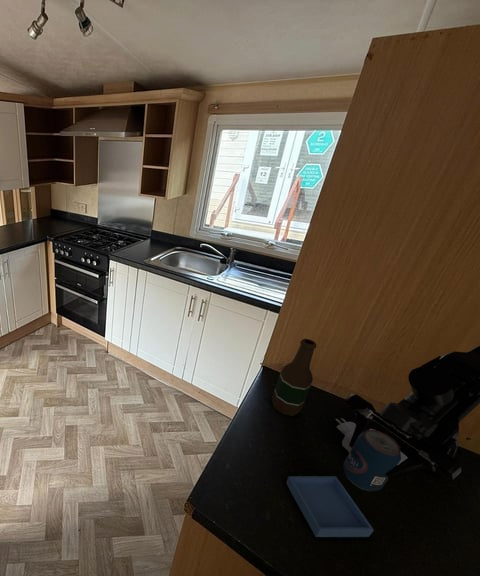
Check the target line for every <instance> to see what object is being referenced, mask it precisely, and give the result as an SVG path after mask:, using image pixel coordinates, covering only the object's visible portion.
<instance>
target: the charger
mask: <svg viewBox="0 0 480 576" xmlns="http://www.w3.org/2000/svg"><path fill="white" fill-rule="evenodd" d="M335 421H336V422H337V423H338V425H337V426H336V428H337V430H339V431H340V433H342V434H343V435H344V437H343V438H342V441H341V446H342V447H343V448H344V449H345V450H346V451H347V452H348V454H349V453H350V451H351V449H352V448H351V447H350V446H349V444H350V441H351V438H352V436H353V433H354V430H355V427H356V423H354V422H353V421H346V419H344V418H343V417H340V420H339V419H338V418H335ZM341 421H342V422H341ZM370 430H375V429H373V428H371V429H370ZM400 454H401V460H400V462H399V463H398V465H399V464H400V463H401V462H403V461H404V460H406V459H407V458H408V457H407V456H405V455H404V454H403V453H402V452H400Z"/></svg>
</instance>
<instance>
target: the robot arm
mask: <svg viewBox="0 0 480 576" xmlns="http://www.w3.org/2000/svg"><path fill="white" fill-rule="evenodd" d="M407 376H408V379H407V380H408V383H409V386H410V390H411V392H410V393H409V394H408V395H407V396H406V397H405V398H402V399H401V400H400V401H399V402H391V401H388V403H387V404H386V405H385V406H384V408H383V409H382V410H381V411H380V413H379V412H377V410H376V408H375V406H374V405H373V404H372V403H371V402H369V401H367V400H366V399H364V398H363V397H362V396H360V395H358V394H357V393H353V394H349V395H348V396H347V397H346V398H345V399H344V402H345V403H346V404H347V406H348V407H349V408H350V409H351V410H352V413H353V414H354V415H355V416H356V423H355V424H356V427H355V430H354V433H353V436H352V438H351V441H350V444H349V446H350V447H351V448H352V447H353V445H354V444H355V442H356V440H357V438H358V436H359V435H360V434H362V433H365V432H366V431H368V430H370V429H373V423H372V422H376V423H377V424H378V425H380V426H381V427H382V428H384V429H386V430H387V431H389V433H391V434H393V435H394V436H396V437H397V438H399V439H398V440H395V441H396V442H397V443H398V444H399V446H400V448H401V452H402V453H403V454H404V455H405V456H407V457H408V458H407V459H406V460H404V461H403V462H401V463H400V464H399V465H397V466H396V467H394V468H393V469H391V470H390V471H389V472H388V473H387V474H386V476H387V477H388V479H390V478H393V477H396V476H399V475H402V474H405V473H408V472H412V471H418V470H423V471H425V472H428V473H431V474H433V475H435V474H436V473H437V471H438V472H440V473H441V474H443V475H444V476H446V477H447V478H449V479H451V480H452V481H454V479H456V478H457V477H458V476H459V475H460V474H461V473H462V466H461V463H460V461H459V460H457V459H456V458H454V456H455V455H456V453H457V450H458V448H459V441H458V438H459V437H460V422H461V421H463V420H464V419H465V418H466V417H467V416H468V415H469V414H470V413H471V412H472V411H473V410H474V409H475V408H476V407H478V406H479V405H480V344H479V345H477V346H475V347H473V348H472V349H470V350H467V351H455V350H454V351H451V352H448V353H446V354H444V355H443V356H441V355H438V356H436V357H434V358H433V359H431V360H429V361H427V362H425V363H424V364H421V365H420V366H419V367H416V368H412V369H411V370H410V372H409V373H408V375H407Z"/></svg>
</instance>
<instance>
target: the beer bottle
mask: <svg viewBox="0 0 480 576" xmlns="http://www.w3.org/2000/svg"><path fill="white" fill-rule="evenodd" d="M299 343H300V345H299V348H298V349H297V351H296V354H295V356H294V358H293V359H292V361H291V362H289V363H286V364H285V365H284V366H282V368H281V371H280V373H279V376H278V378H277V382H276V385H275V388H274V390H273V392H272V393H273V394H272V398H271V402H272V406H273V408H274V409H275V410H276V411H278V413H281V414H282V415H285V416H290V417H294V416H296V415H297V414H299V413H301V410H302V409H303V407H304V404H305V401H306V399H307V397H308V394H309V391H310V389H311V387H312V383H313V380H314V379H313V374H312V371H311V362H312V360H313V355H314V351H315V349H317V343H316V342H315V341H314V340H312V339H309V338H303V339H301V340H300V342H299Z"/></svg>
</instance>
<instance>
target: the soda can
mask: <svg viewBox="0 0 480 576" xmlns="http://www.w3.org/2000/svg"><path fill="white" fill-rule="evenodd" d="M396 441H397V440H395V439H394V438H393V437H391V436H390V435H389V434H386V433H385V432H382V431H380V430H376V429H374V430H368V431H366V432H365V433H362V434H360V435H359V436H358V438H357V440H356V442H355V444H354V445H353V447H352V449H351V451H350V453H349V452H348V454H347V457H346V458H345V460H344V462H343V464H342V465H343V466H342V467H343V471H344V474H345V476H346V478H347V479H348V480H349V481H350V483H352V484H353V485H354V486H356V487H357V488H359V489H360V490H363V491H367V492H377V491H381V490H382V489H383V487H385V485H386V483H387V481H388V480H389V478H388V477H387V476H386V474H387V473H388V472H389V471H390V470H391V469H393V468H394V467H396V466H397V465H398V463H399V462H400V460H401V454H400V452H401V448H400V446H399V444H398V443H397V442H398V441H397V442H396Z"/></svg>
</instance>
